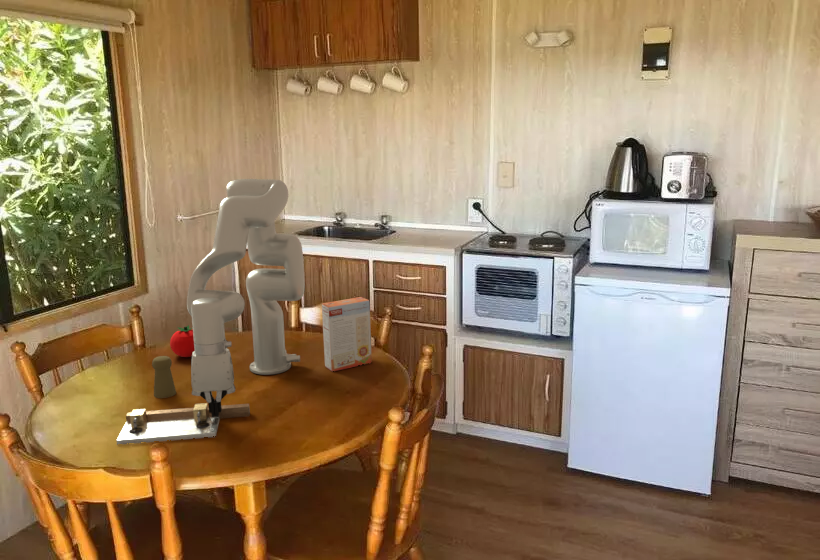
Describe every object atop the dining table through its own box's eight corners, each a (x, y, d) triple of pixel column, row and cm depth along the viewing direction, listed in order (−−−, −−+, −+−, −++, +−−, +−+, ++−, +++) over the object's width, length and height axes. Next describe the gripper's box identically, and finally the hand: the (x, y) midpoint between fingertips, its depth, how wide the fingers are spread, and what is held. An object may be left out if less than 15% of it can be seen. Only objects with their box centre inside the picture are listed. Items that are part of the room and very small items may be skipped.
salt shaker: (149, 394, 194) (145, 357, 191) (169, 387, 198) (166, 352, 196) (160, 400, 190) (156, 362, 187) (180, 393, 194) (176, 357, 192)
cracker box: (363, 358, 221) (361, 295, 216) (372, 363, 216) (370, 300, 211) (323, 366, 214) (321, 302, 209) (331, 372, 209) (329, 306, 204)
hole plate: (250, 410, 183) (249, 395, 182) (246, 434, 169) (245, 417, 168) (130, 419, 178) (128, 404, 177) (117, 444, 164) (115, 428, 163)
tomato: (202, 348, 231) (199, 320, 228) (206, 358, 221) (204, 329, 219) (169, 353, 227) (166, 324, 224) (172, 363, 217) (169, 333, 215)
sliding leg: (208, 414, 177) (207, 403, 176) (205, 424, 171) (204, 412, 170) (196, 415, 176) (195, 403, 176) (193, 425, 171) (191, 413, 170)
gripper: (241, 340, 176) (246, 406, 180) (181, 344, 173) (187, 411, 178) (239, 350, 169) (244, 418, 173) (176, 354, 166) (183, 423, 171)
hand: (215, 414), depth 175 cm, fingers closed
